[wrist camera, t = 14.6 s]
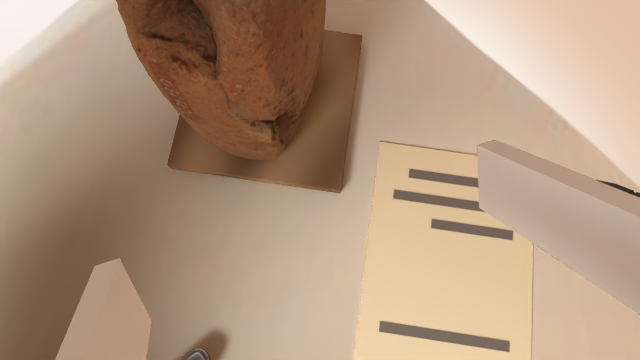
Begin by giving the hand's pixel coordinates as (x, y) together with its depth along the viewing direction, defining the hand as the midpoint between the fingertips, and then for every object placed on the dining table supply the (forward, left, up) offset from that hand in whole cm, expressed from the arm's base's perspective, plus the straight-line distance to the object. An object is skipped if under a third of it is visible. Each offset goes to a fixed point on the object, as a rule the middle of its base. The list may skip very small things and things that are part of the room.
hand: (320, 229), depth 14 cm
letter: (+9, +1, -15) cm, 18 cm away
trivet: (-6, +11, -15) cm, 20 cm away
